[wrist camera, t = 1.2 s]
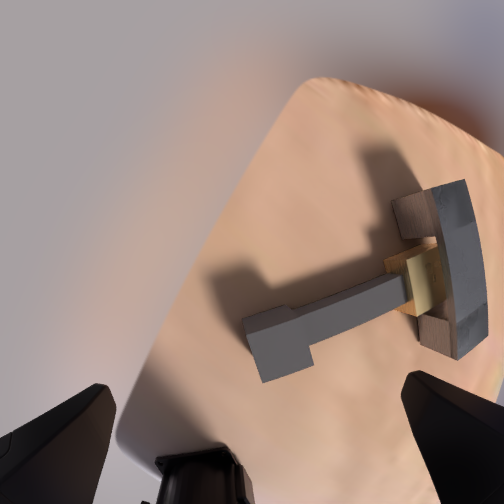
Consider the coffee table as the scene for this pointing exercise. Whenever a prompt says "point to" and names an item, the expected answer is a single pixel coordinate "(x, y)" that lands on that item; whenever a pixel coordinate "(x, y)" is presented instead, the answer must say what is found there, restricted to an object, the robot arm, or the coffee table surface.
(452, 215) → the curved dark grey plate
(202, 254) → the coffee table surface
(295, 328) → the stepped grey block
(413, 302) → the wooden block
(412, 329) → the coffee table surface
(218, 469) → the robot arm
